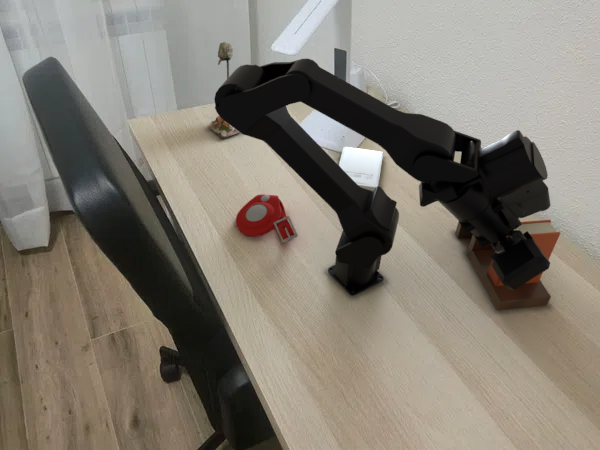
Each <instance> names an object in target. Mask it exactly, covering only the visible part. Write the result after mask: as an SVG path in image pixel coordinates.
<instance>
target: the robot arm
mask: <svg viewBox="0 0 600 450" xmlns="http://www.w3.org/2000/svg"><path fill="white" fill-rule="evenodd" d="M297 103H302V104H304V105H306V106H308V107H309V108H312V109H313V110H315V111H317V112H318V113H321V115H324V116H326V117H328V118H329V119H331V120H333V121H334V122H337V123H338V124H341V126H344V127H346V128H348V129H349V130H351V131H352V132H355V133H356V134H358V135H360V136H362V137H364V138H366V139H368V141H370V142H373V143H375V144H376V145H378V146H379V147H381V148H382V149H383V150H384V151H385V152H386V153H387V155H388V156H389V157H390V159H391V160H392V161H393V162H394V164H395V165H396V166H397V167H399V168H400V169H401V170H403V171H404V172H405V173H407V175H409V176H410V177H412V178H413V179H414V180H416V181H417V182H420V183H419V185H418V195H419V196H418V197H419V206H420V207H422V208H423V207H428V206H429V205H431V204H433V203H436V202H438V203H439V204H441V206H442V207H444V208H445V209H446V210H447V211H448V213H450V214H451V215H452V216H453V217H454V218H455V219H456V220H457V221H458V222H459V223H460V224H461V226H462V228H463V230H464V231H465V232H466V233H467V234H468V233H469V232H471V233H472V234H473V235H475V238H476V240H477V242H478V243H479V245H480V246H481V247H482V248H483V247H485V246H486V245H488V244H489V243H491V245H492V246H493V248H494V250H495V251H496V252H495V253H494V254H492V255H491V258H492V260H493V263H492V267H493V269H494V270H495V272H496V274H497V276H498V277H499V279H500V281H501V282H502V284H503V285H504V286H505V287H507V288H508V289H510V290H515V289H517V288H518V287H520V286H522V285H523V284H525V283H526V282H528V281H529V280H531V279H533V278H534V277H536V276H537V275H539V274H541V273H542V272H543V273H544V272H546V271H547V270H548V269H549V268H550V265H551V261H550V259H549V260H548V259H547V257H546V256H545V255H544V253H543V252H542V250H541V249H540V248H539V246H538V245H537V244H536V243H535V241H534V240H533V238H532V237H531V235H530V234H529V232H528V231H527V232H525V233H524V234H523V233H522V232H521V231H520V230H513V229H516V228H518V227H519V226H521V225H522V223H521V222H522V221H521V220H520V219H524V218H527V217H529V216H532V215H534V214H537V213H540V212H544V211H546V210H548V209H550V207H551V198H550V192H549V187H548V185H547V184H546V183H545V181H546V180H547V179H548V170H547V166H546V164H545V161H544V158H543V157H542V154H541V152H540V150H539V148H538V147H537V144H535V142H534V141H531V139H530V138H529V137H528V136H526V135H525V136H524V134H523V133H522V132H521V131H520V130H519V129H518V130H515V131H511V132H510V133H509V134H507V135H505V137H503V138H501V139H499V140H497V141H495V142H493V143H490V144H488V145H487V146H485V147H482V140H481V139H480V138H476V137H474V136H471V135H468V134H465V133H462V132H460V131H456V130H454V129H453V128H452V126H451V125H450V124H448V123H446V122H444V121H442V120H438V119H436V118H433V117H430V116H428V115H425V114H422V113H412V112H411V113H410V112H404V111H401V110H399V109H396V108H394V107H393V106H391V105H389V104H387V103H385V102H384V101H382V100H380V99H378V98H377V97H374V96H372V95H371V94H369V93H367V92H366V91H364V90H363V89H359V88H358V87H357V86H355V85H353V84H351V83H349V82H348V81H346V80H344V79H342V78H340V77H339V76H336V75H335V74H333V73H331V72H330V71H328V70H326V69H324V68H322V67H320V66H319V64H318V63H317V62H316V61H315V60H313V59H311V58H300V59H297V60H294V61H276V62H270V63H267V64H263V65H257V64H242V65H240V66H238V67H237V68H236V69H234V71H233V72H231V74H229V78H228V79H227V78H226V80H225V81H224V82H223V83H222V85H220V87H219V88H218V89H217V91H216V92H215V95H214V109H215V112H216V114H217V116H220V117H221V118H222V119H223V120H224V121H225V122H227V123H228V124H229V125H231V126H232V127H233V128H235V129H236V130H238V131H239V134H241V135H244V136H247V137H249V138H253V139H256V140H260V141H262V142H264V143H265V144H266V145H267V146H269V148H270V149H271V150H272V151H274V153H276V155H278V156H279V158H280V159H281V160H283V161H284V163H286V164H287V165H288V166H289V167H290V169H292V171H294V172H295V174H297V176H299V177H300V178H301V179H302V180H303V181H304V183H305V184H307V185H308V186H309V187H310V188H311V189H312V191H314V192H315V193H316V194H317V195H318V196H319V197H320V198H321V200H323V201H324V202H325V203H326V204H327V205H328V206H329V207H330V208H331V209H332V210H333V211H334V212H335V214H336V216H337V218H338V221H339V224H340V226H341V229H342V232H341V235H340V237H339V240H338V243H337V245H336V249H335V251H334V254H335V263H334V265H331V266H330V267H328V268H327V272H328V274H329V275H330V276H331V277H332V278H333V280H335V281H336V282H337V283H338V284H339V286H340V287H342V288H343V289H344V291H346V293H348V294H349V295H350V296H352V297H354V296H357V295H358V294H361V293H362V292H364V291H366V290H368V289H370V288H372V287H375V286H376V285H378V284H380V283H382V282H383V281H384V279H385V277H384V276H383V275H382V274H381V273H380V272H379V270H380V265H381V261H382V256H384V255H387V254H388V253H389V252H390V251H391V250H392V248H393V245H394V241H395V237H396V234H397V233H396V232H397V229H398V224H399V219H400V213H399V210H398V208H397V203H398V202H397V201H396V200H394V199H392V198H390V196H388V194H387V193H386V191H385V190H384V189H383V188H382V187H381V186H380V185H378V186H377V187H376V188H375V189H374V190H372V191H371V190H368V189H365V188H361V187H360V186H358V185H357V184H356V183H355V182H354V181H353V180H352V179H351V178H350V177H349V176H348V175H347V174H346V172H345V171H344V170H343V169H342V168H341V167H340V166H339V163H337V162H336V161H335V160H334V159H333V158H332V156H330V155H329V154H328V153H327V152H326V151H325V149H323V147H322V146H320V144H319V143H317V141H316V140H315V139H313V138H312V136H311V135H310V134H309V133H308V132H307V131H306V130H305V129H304V128H303V127H302V126H301V125H300V124H299V123H298V122H297V121H296V120H295V119H294V118H293V117H292V116H291V114H290V112H289V110H288V108H287V106H289V105H293V104H297ZM456 152H458V153H460V161H459V162H458V161H455V155H456ZM518 218H519V219H518ZM519 220H520V221H521V222H520V221H519ZM507 235H508V236H509V237H507ZM499 241H500V243H499ZM543 273H542V274H543Z"/></svg>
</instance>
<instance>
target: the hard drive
mask: <svg viewBox="0 0 600 450" xmlns="http://www.w3.org/2000/svg"><path fill="white" fill-rule="evenodd" d="M383 157H384V152H383V151H381V150H373V149H366V148H359V147H351V146H343V147H342V151H341V154H340V159H339V163H338V165H339V166H340V167H341V168H342V169H343V170H344V171H345V172H346V174H347V175H348V176H349V177H350V178H351V179H352V180H353V181H354V182H355V183H356V184H357V185H358V186H360V187H361V188H365V189H368V190H371V191H372V190H374V189H375V188H376V187H377V186H379V183H380V177H381V176H380V175H381V170H382V164H383Z"/></svg>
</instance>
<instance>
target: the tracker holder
mask: <svg viewBox="0 0 600 450" xmlns="http://www.w3.org/2000/svg"><path fill="white" fill-rule="evenodd" d="M235 224H236V227H237V229H238V231H239V232H240V233H241V234H243V235H244V236H247V237H261V236H265V235H267V234H268V233H270V232H272V231H273V230H275V231H276V232H277V234H278V237H279V238H280V241H281V243H282V244H284V243H287V242H289V241H292V240H293V239H295V238H298V237H299V235H298V233H297V230H296V228H295V226H294V224H293V222H292V219H291V217H290V216H289V215H287V213H286V209H285V206H284V204H283V202H282V200H281V199H280V198H279V196H278V195H277V194H276V195H275V194H257V195H255V196H254V197H253V198H252V199H250V200H249V201H247V203H245V204H244V205H243V206H242V207H241V209H240V210H239V211H238V212H237V214H236V217H235Z"/></svg>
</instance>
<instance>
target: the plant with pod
mask: <svg viewBox="0 0 600 450" xmlns="http://www.w3.org/2000/svg"><path fill="white" fill-rule="evenodd" d="M233 52H234V48H233V45H232V44H231V43H228V42H226V41H223V42H221V43H219V47H218V51H217V57H218V58H219V60H218V63H217V65H218V66H220V65H221V63H222V62H224V61H226V80H227V79H228V78H229V76H230V62H229V61H231V59H232V57H233ZM206 128H207V129H210V130H211V129H212V130H211V131H213V133H215V134H217V136H218V137H219V138H227V137H228V138H229V137H232V136H233V135H236V134H240V132H239V131H238V130H236V129H235V128H233V127H232V126H231V125H229V124H228V123H227V122H225V121H224V120H223V119H222V118H221V117H220V116H219V115H217V116H216V118H215V119H214V120H213V121H212V120H211V123H209V124H208V126H206Z"/></svg>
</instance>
